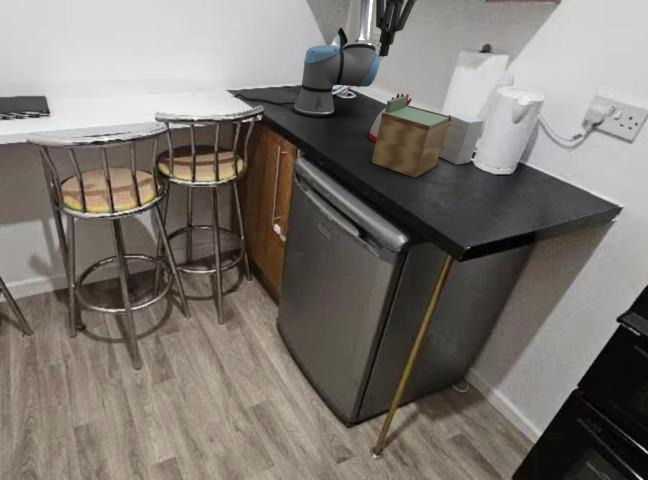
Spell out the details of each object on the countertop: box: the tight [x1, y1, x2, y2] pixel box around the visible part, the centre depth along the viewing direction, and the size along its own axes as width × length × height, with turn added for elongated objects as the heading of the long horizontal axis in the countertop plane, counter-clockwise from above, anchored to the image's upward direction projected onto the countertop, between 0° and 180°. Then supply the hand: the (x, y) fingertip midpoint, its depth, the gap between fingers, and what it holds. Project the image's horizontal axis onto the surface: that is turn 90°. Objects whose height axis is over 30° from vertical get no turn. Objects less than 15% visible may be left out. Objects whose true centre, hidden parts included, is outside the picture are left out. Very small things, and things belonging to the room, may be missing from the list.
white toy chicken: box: [368, 93, 413, 143], centre depth 150 cm, size 14×14×15 cm
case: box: [371, 104, 451, 179], centre depth 131 cm, size 14×14×15 cm
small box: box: [439, 113, 485, 166], centre depth 138 cm, size 8×6×13 cm
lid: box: [383, 95, 449, 128], centre depth 127 cm, size 14×13×4 cm
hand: (383, 55), depth 136 cm, fingers closed
